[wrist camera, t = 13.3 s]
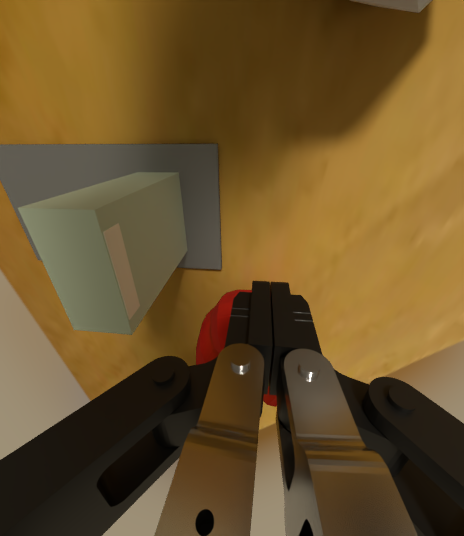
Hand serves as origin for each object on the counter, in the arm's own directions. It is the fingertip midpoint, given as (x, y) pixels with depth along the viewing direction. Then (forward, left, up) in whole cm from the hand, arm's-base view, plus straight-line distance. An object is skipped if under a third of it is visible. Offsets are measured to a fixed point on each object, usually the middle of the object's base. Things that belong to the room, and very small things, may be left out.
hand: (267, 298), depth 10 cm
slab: (0, -9, -11) cm, 15 cm away
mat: (0, -14, -12) cm, 18 cm away
